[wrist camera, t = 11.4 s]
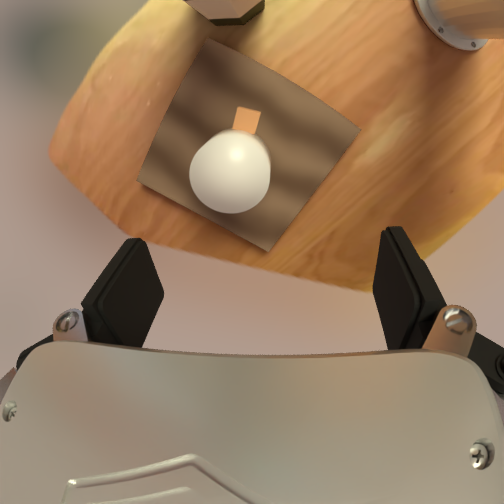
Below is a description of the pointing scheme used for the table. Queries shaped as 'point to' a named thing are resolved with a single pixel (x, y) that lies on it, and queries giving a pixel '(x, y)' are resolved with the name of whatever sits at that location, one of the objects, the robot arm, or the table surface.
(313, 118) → the post board
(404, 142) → the table surface
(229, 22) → the wine bottle
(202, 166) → the light bulb
